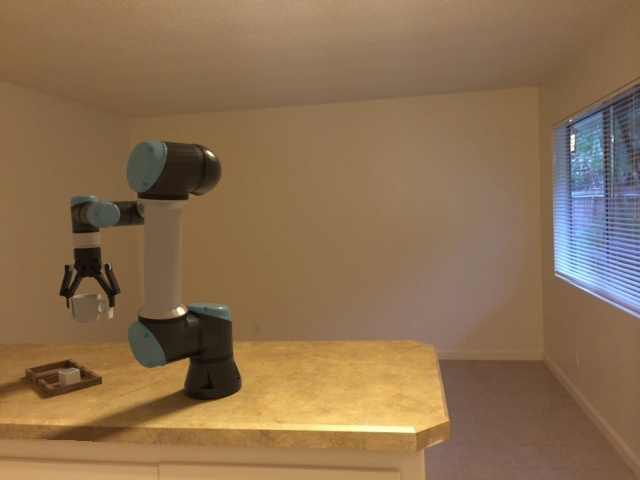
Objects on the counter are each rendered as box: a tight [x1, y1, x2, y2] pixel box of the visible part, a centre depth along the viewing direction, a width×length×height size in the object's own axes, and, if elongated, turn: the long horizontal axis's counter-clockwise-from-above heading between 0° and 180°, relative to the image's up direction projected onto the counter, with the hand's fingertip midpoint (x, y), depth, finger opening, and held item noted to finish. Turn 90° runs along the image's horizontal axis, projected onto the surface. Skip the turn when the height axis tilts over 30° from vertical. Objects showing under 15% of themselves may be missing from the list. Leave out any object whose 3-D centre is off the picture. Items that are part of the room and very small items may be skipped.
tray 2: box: [37, 367, 103, 398], centre depth 140 cm, size 13×13×2 cm
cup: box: [72, 292, 106, 324], centre depth 151 cm, size 11×8×8 cm
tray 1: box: [24, 358, 86, 386], centre depth 150 cm, size 13×13×2 cm
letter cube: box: [58, 368, 81, 386], centre depth 140 cm, size 4×4×4 cm
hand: (91, 318), depth 152 cm, fingers closed on cup, 11 cm apart
